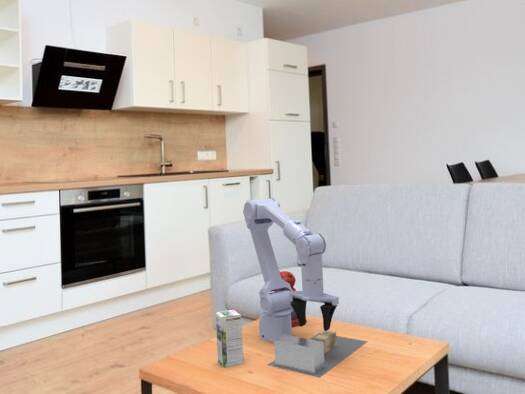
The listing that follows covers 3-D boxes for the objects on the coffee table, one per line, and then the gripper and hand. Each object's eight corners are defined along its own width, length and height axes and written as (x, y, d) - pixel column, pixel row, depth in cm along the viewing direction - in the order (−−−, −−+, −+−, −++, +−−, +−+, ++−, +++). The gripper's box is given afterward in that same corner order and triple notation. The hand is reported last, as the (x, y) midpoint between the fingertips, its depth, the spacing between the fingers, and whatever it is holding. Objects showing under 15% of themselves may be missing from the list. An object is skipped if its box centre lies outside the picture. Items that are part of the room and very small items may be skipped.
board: (267, 368, 134) (267, 364, 134) (319, 336, 156) (319, 332, 156) (319, 381, 124) (319, 377, 124) (367, 344, 147) (367, 341, 146)
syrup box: (217, 364, 139) (214, 312, 138) (237, 359, 141) (234, 308, 140) (224, 371, 133) (220, 317, 132) (245, 366, 136) (241, 313, 135)
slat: (303, 367, 130) (302, 352, 130) (294, 365, 132) (293, 350, 132) (336, 345, 145) (336, 331, 145) (327, 343, 147) (326, 330, 146)
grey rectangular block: (275, 365, 133) (274, 340, 133) (285, 358, 137) (284, 334, 137) (314, 374, 126) (313, 348, 126) (324, 367, 130) (323, 341, 130)
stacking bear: (309, 322, 170) (306, 270, 169) (290, 330, 163) (287, 276, 162) (285, 316, 178) (282, 266, 177) (265, 324, 170) (262, 272, 169)
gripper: (282, 279, 138) (284, 327, 139) (328, 284, 129) (331, 336, 130) (295, 273, 144) (298, 320, 145) (341, 278, 135) (343, 328, 136)
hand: (314, 327), depth 138 cm, fingers open, 7 cm apart
